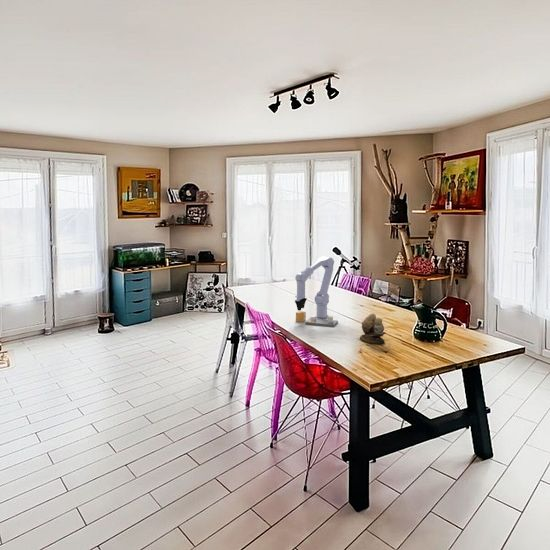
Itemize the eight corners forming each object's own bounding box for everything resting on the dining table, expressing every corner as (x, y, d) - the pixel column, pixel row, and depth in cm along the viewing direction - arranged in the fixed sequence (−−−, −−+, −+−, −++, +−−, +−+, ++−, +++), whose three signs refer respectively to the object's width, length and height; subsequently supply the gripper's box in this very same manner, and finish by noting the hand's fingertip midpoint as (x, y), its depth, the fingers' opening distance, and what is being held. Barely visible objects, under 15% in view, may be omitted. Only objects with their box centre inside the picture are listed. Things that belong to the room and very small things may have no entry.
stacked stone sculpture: (391, 343, 257) (392, 315, 254) (377, 346, 251) (378, 318, 248) (368, 335, 272) (369, 309, 269) (354, 339, 265) (355, 311, 263)
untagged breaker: (328, 321, 301) (328, 315, 300) (332, 322, 300) (333, 316, 299) (327, 322, 298) (327, 316, 297) (331, 323, 297) (332, 317, 296)
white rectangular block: (311, 321, 305) (311, 315, 305) (315, 322, 304) (316, 316, 303) (310, 322, 302) (310, 316, 302) (314, 323, 301) (314, 317, 301)
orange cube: (298, 319, 313) (298, 311, 312) (305, 319, 311) (305, 311, 310) (295, 321, 308) (295, 312, 307) (303, 321, 306) (303, 313, 305)
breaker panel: (310, 320, 310) (310, 317, 310) (337, 322, 303) (337, 319, 303) (305, 324, 299) (305, 320, 299) (334, 326, 292) (334, 323, 292)
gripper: (298, 288, 314) (298, 306, 316) (292, 291, 301) (292, 310, 303) (308, 288, 312) (307, 307, 314) (302, 292, 298) (302, 311, 300)
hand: (300, 309), depth 308 cm, fingers open, 7 cm apart
